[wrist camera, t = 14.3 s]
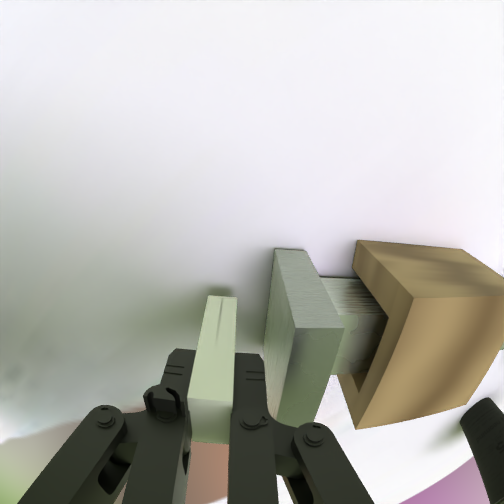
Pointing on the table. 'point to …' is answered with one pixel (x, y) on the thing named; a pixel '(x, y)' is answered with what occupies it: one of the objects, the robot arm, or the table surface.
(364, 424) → the tan wooden block
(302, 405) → the shaft
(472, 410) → the drinking cup
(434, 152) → the table surface
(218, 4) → the table surface
